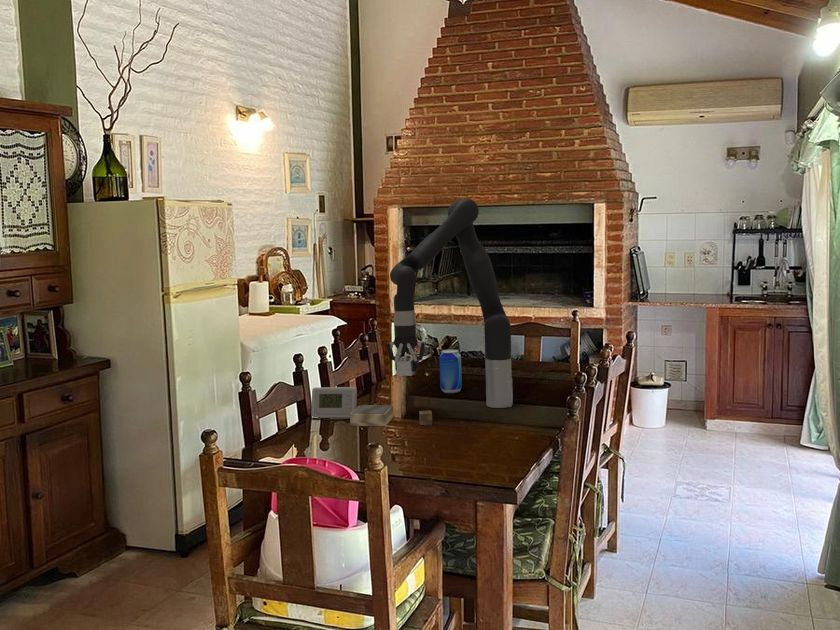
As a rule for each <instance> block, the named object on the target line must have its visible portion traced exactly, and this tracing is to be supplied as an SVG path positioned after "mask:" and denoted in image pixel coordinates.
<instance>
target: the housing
mask: <svg viewBox="0 0 840 630" xmlns="http://www.w3.org/2000/svg"><path fill="white" fill-rule="evenodd" d="M413 362H414V359H413V357H412V355H411V354H410V355H406V356H402V357H401V356H400V358H399V360H397V361H396V364H397V370H396V376H397V377H400V376H401V377H402V376H403V377H406V376H407V377H408V376H409V377H411V376H413V375H414V374H415V373H416V372H414V365H413Z"/></svg>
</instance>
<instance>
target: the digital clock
mask: <svg viewBox="0 0 840 630" xmlns="http://www.w3.org/2000/svg"><path fill="white" fill-rule="evenodd" d="M357 391H358V390H357V388H356V387H354V386H350V387H349V386H325V387H313V388H312V391H311V409H310V411H311V413H310V414H311V415H310V417H311V416H313V417H318V418H330V419H329V420H350V414H351V413H352V412H353V411H354V410H355V409H356V408H357V407H358V406H357V405H358V404H357V401H358V400H357V398H358V392H357ZM315 414H316V415H315Z"/></svg>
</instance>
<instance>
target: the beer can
mask: <svg viewBox="0 0 840 630" xmlns="http://www.w3.org/2000/svg"><path fill="white" fill-rule="evenodd" d="M459 352H460V351H459V350H457V349H443V350H441V354H440V355H439V379H440V381H439V382H440V390H441V391H442V392H443V393H445V394H455V393H456V394H457V393H460V392H461V389H462V387H463V378H462V356H461V354H460V353H459Z"/></svg>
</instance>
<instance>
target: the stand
mask: <svg viewBox="0 0 840 630" xmlns="http://www.w3.org/2000/svg"><path fill="white" fill-rule="evenodd" d="M393 418H394V405H390V404H389V405H386V404H385V405H383V404H380V405H379V404H377V405H376V404H373V405H372V404H370V405H369V404H361V405H360V404H359V405H358V406H356V409H355V410H354V411H353V412H352V413H351V414H350V419H349V422H350V425H349V426H350V427H354V426H356V427H386V426H387V425H388V424H389V423H390V422H391V421H392V419H393Z"/></svg>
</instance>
